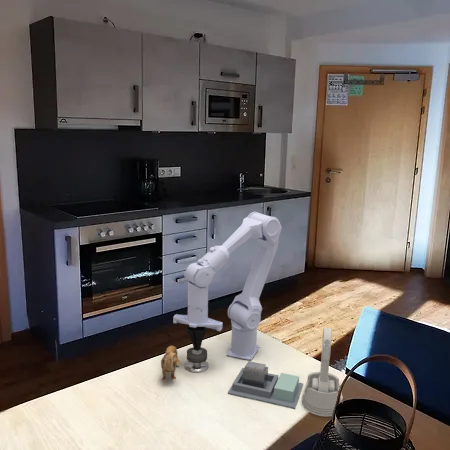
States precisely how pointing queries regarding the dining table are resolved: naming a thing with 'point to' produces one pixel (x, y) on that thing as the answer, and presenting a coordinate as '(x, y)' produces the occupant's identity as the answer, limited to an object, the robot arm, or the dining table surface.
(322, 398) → the engine component
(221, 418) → the dining table surface
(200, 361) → the wheel
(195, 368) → the axle mount
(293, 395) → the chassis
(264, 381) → the block
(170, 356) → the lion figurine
